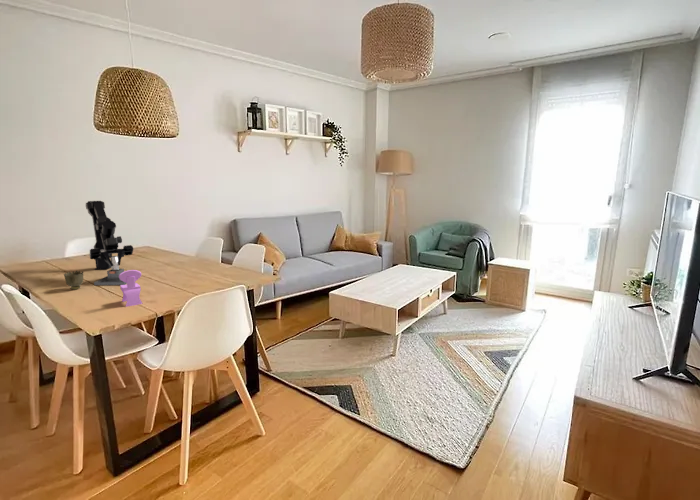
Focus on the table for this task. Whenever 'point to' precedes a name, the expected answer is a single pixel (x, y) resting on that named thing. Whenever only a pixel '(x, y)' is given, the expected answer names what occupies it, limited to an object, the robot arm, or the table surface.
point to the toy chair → (130, 287)
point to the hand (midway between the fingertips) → (115, 265)
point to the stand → (111, 278)
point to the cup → (74, 279)
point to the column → (115, 263)
